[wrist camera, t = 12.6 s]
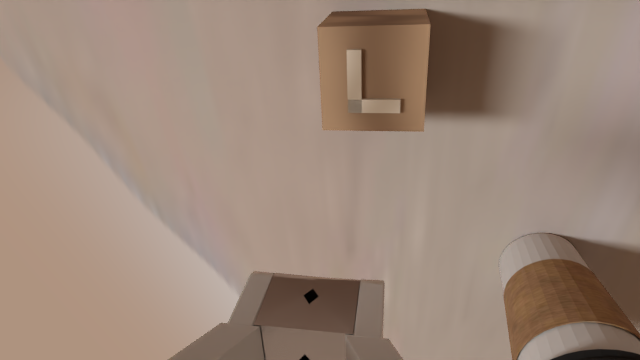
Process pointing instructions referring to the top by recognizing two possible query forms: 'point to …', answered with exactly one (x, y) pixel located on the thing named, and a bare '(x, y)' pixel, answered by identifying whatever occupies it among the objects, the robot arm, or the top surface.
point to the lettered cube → (374, 69)
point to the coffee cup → (560, 305)
